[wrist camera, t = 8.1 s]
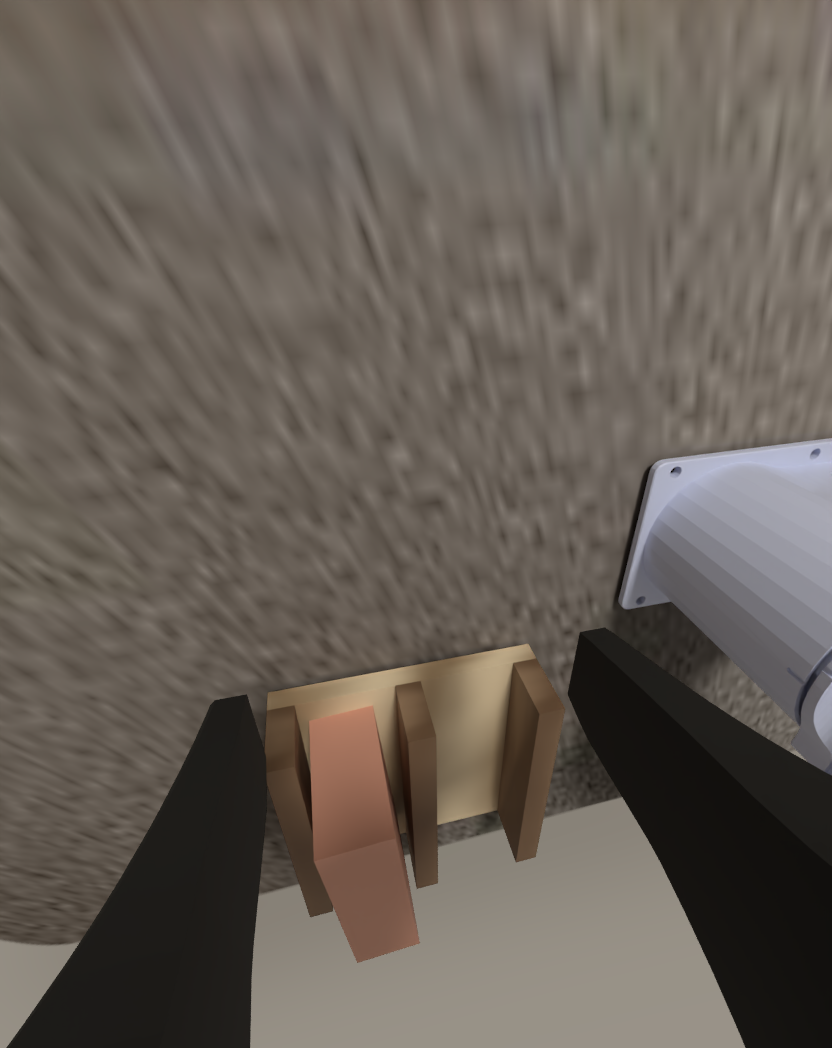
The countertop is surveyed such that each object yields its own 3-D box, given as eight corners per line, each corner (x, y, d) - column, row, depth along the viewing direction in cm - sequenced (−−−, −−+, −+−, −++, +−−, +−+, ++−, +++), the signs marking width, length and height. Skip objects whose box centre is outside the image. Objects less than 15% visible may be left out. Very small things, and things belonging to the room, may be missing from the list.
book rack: (527, 643, 25) (565, 708, 21) (509, 790, 31) (535, 857, 28) (267, 692, 22) (263, 773, 19) (308, 838, 29) (310, 917, 26)
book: (372, 705, 23) (395, 838, 18) (397, 816, 28) (419, 943, 23) (308, 720, 23) (313, 861, 17) (345, 830, 28) (357, 962, 23)
